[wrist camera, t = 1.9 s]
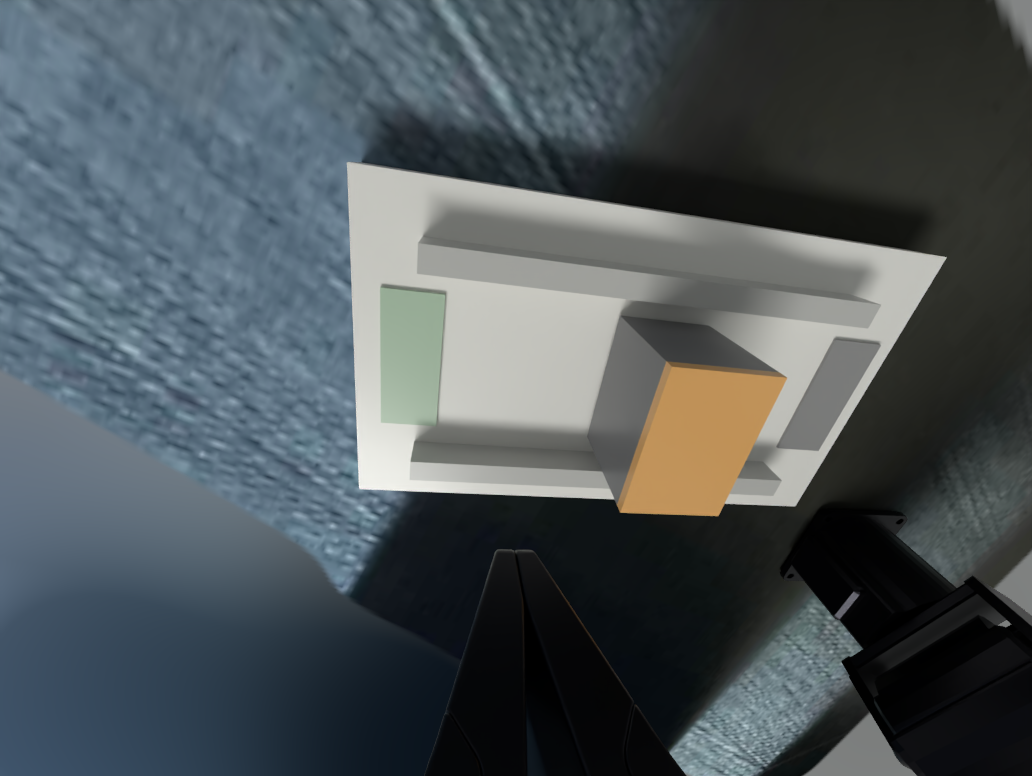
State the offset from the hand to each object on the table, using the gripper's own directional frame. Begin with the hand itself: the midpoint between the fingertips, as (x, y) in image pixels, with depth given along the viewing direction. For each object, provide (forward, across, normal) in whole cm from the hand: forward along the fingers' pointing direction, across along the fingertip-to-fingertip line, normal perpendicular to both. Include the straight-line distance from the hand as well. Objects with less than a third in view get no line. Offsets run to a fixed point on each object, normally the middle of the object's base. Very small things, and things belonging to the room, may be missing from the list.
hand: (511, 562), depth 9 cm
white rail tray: (+12, -6, 0) cm, 13 cm away
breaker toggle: (+10, -7, 0) cm, 12 cm away
